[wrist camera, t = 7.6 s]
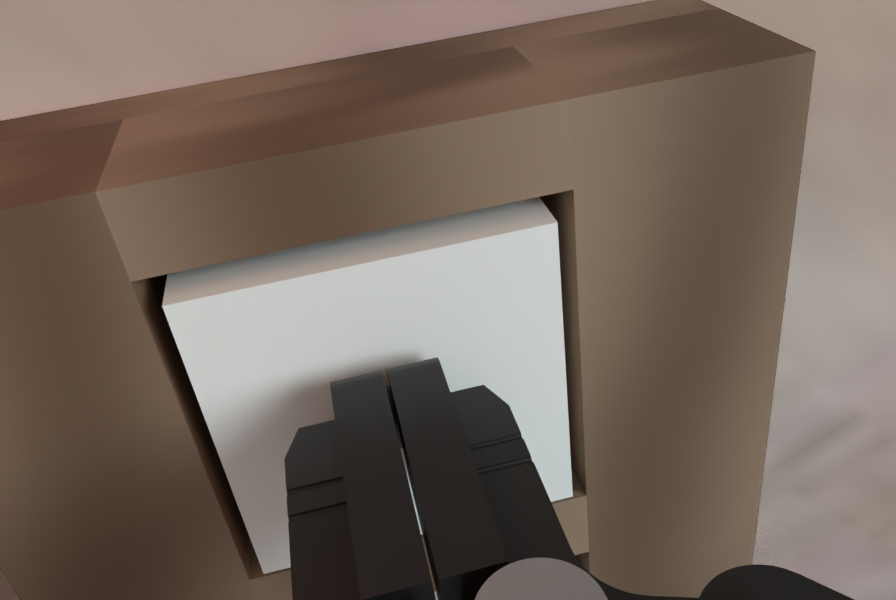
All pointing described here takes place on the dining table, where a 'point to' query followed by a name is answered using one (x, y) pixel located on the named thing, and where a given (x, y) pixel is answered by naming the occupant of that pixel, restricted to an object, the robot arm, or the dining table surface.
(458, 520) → the robot arm
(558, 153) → the button panel
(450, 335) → the button one
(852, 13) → the dining table surface
